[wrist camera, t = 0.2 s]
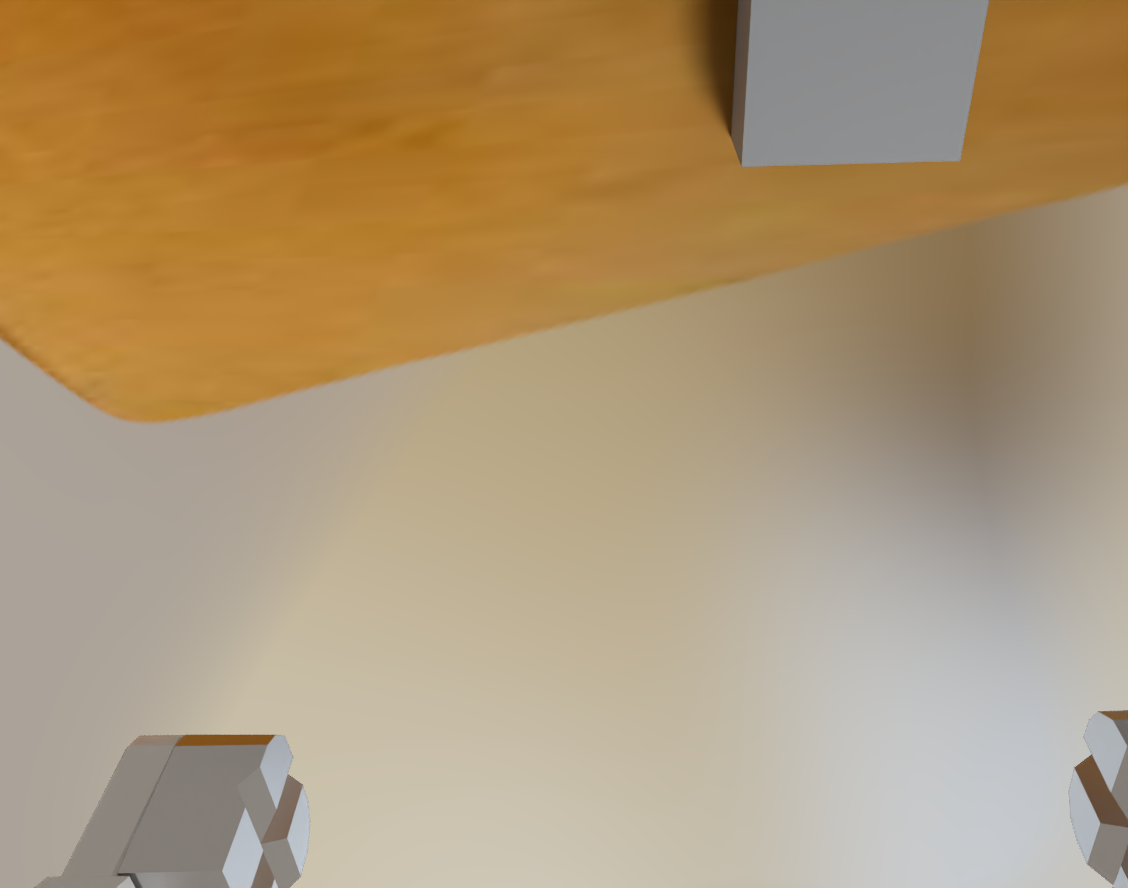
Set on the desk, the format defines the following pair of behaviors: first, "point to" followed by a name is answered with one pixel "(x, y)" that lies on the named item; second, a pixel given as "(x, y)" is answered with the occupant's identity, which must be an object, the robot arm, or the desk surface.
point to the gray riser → (854, 80)
